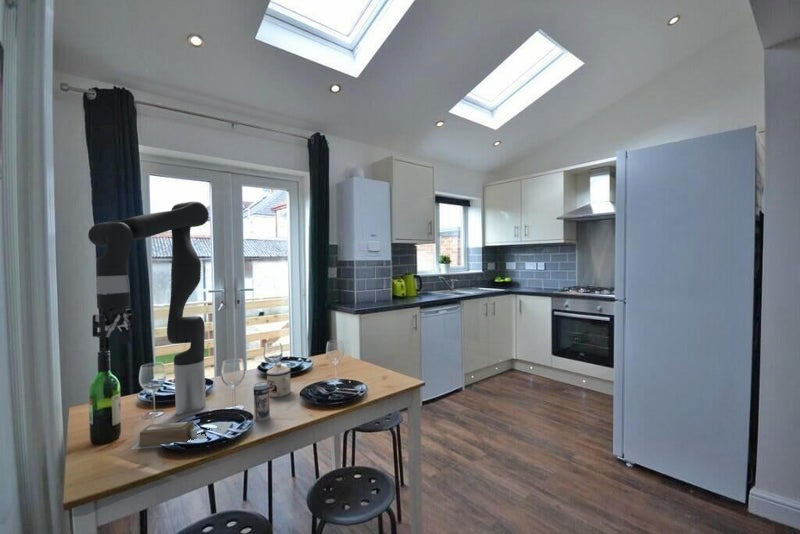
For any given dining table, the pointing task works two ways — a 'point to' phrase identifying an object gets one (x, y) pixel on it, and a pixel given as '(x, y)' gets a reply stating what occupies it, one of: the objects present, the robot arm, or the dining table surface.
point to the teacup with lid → (279, 381)
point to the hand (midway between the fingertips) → (115, 347)
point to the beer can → (261, 401)
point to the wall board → (219, 425)
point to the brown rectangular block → (166, 433)
